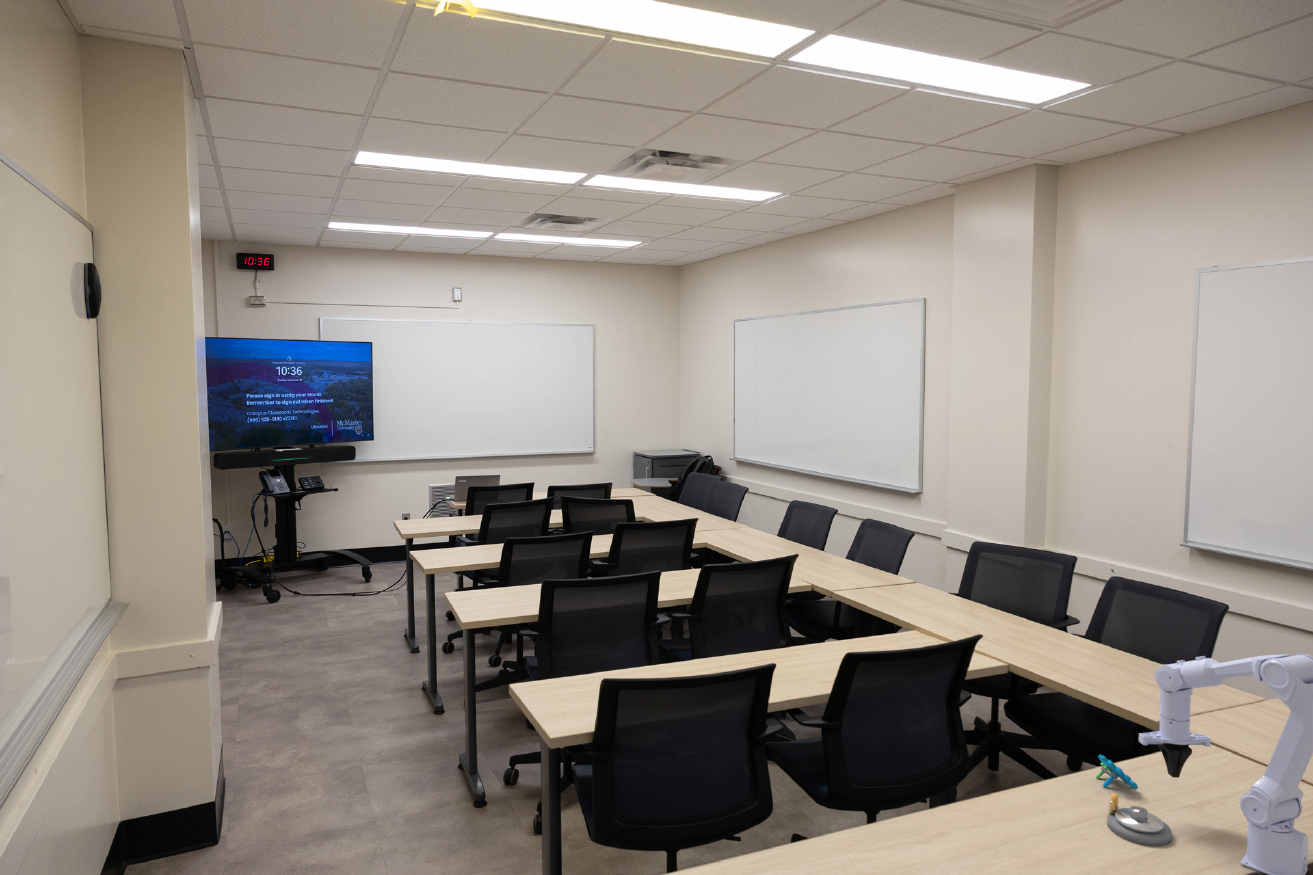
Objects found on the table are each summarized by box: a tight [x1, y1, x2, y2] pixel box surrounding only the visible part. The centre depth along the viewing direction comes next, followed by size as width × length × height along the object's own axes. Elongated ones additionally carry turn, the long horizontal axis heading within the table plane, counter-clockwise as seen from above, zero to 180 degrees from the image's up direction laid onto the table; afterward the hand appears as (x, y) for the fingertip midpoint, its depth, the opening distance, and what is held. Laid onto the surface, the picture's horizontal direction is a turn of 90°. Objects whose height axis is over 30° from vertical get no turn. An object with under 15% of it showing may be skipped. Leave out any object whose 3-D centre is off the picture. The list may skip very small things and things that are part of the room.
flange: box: [1107, 793, 1164, 833], centre depth 172 cm, size 11×9×4 cm
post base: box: [1106, 799, 1172, 847], centre depth 171 cm, size 12×12×4 cm
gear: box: [1095, 754, 1139, 791], centre depth 191 cm, size 11×6×10 cm
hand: (1173, 775), depth 177 cm, fingers closed
